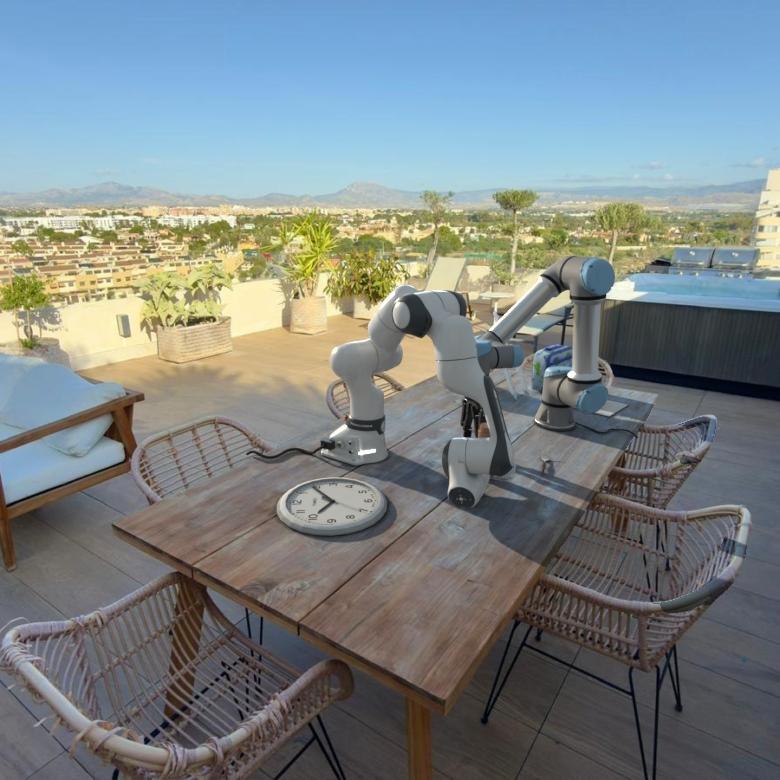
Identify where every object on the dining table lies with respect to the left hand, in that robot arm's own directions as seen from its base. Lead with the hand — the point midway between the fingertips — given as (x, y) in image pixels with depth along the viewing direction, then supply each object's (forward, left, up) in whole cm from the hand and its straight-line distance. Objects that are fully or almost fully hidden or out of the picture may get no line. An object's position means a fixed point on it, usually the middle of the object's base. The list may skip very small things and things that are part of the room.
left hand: (485, 454), depth 160 cm
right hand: (-8, +15, -7) cm, 18 cm away
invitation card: (+33, +85, -7) cm, 92 cm away
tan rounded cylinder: (0, -1, -7) cm, 7 cm away
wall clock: (-34, -35, -7) cm, 50 cm away
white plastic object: (-20, +84, -7) cm, 86 cm away
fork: (+17, +15, -7) cm, 23 cm away
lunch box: (+11, +103, -7) cm, 104 cm away
